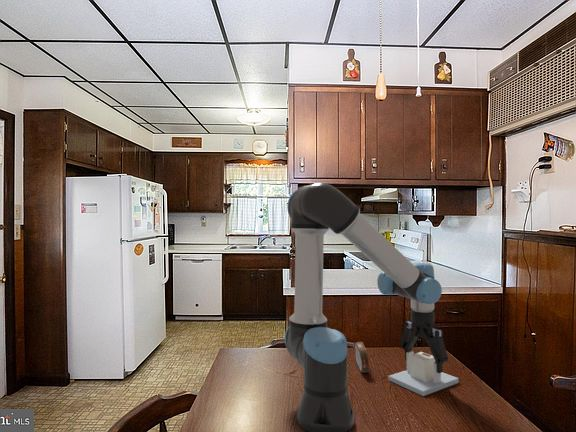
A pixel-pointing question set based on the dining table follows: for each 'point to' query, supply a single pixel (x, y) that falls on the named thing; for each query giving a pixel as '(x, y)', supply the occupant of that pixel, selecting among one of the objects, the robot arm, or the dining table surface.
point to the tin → (362, 357)
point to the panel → (422, 382)
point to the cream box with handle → (422, 366)
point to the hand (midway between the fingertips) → (423, 376)
